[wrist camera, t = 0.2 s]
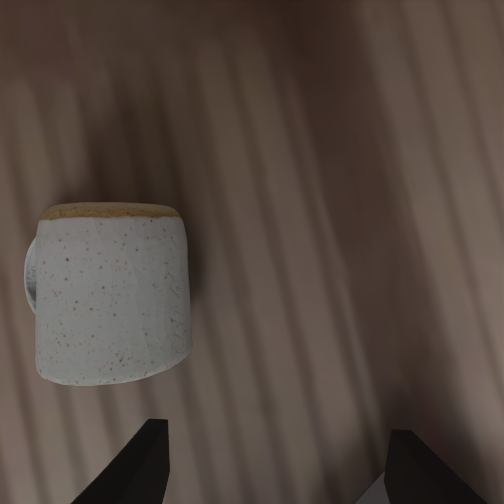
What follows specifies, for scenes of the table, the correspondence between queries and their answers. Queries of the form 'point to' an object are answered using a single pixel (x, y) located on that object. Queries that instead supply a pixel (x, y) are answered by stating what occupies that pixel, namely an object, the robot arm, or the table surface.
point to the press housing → (375, 493)
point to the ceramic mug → (109, 292)
